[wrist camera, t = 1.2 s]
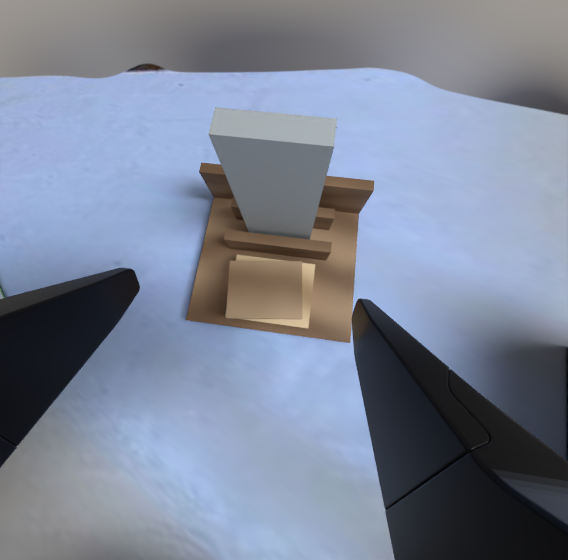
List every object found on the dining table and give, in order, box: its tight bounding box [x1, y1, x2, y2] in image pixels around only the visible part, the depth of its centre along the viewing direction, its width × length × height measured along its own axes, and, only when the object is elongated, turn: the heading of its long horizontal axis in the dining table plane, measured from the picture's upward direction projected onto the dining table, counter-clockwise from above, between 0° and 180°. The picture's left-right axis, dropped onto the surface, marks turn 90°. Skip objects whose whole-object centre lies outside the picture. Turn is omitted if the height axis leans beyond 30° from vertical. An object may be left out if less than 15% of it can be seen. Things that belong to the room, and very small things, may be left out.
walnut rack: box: [186, 163, 374, 343], centre depth 20 cm, size 14×16×5 cm
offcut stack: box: [225, 255, 315, 328], centre depth 20 cm, size 6×8×3 cm
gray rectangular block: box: [209, 107, 337, 240], centre depth 16 cm, size 2×6×12 cm, turn 83°
